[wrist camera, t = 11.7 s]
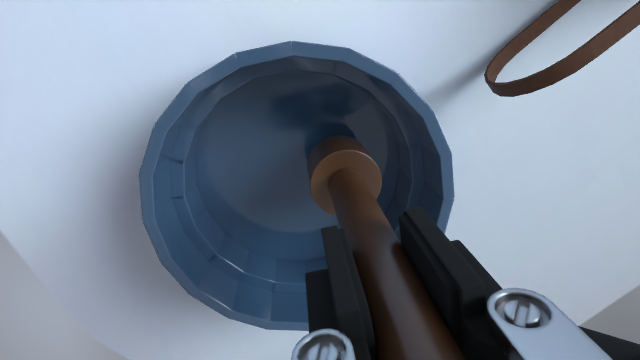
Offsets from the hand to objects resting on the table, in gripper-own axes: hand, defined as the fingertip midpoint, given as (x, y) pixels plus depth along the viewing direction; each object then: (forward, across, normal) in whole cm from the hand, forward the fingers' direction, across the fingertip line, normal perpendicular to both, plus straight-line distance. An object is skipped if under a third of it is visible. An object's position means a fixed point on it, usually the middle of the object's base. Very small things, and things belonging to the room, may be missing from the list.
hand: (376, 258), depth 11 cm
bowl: (+12, +2, +1) cm, 12 cm away
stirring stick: (+10, 0, 0) cm, 10 cm away
